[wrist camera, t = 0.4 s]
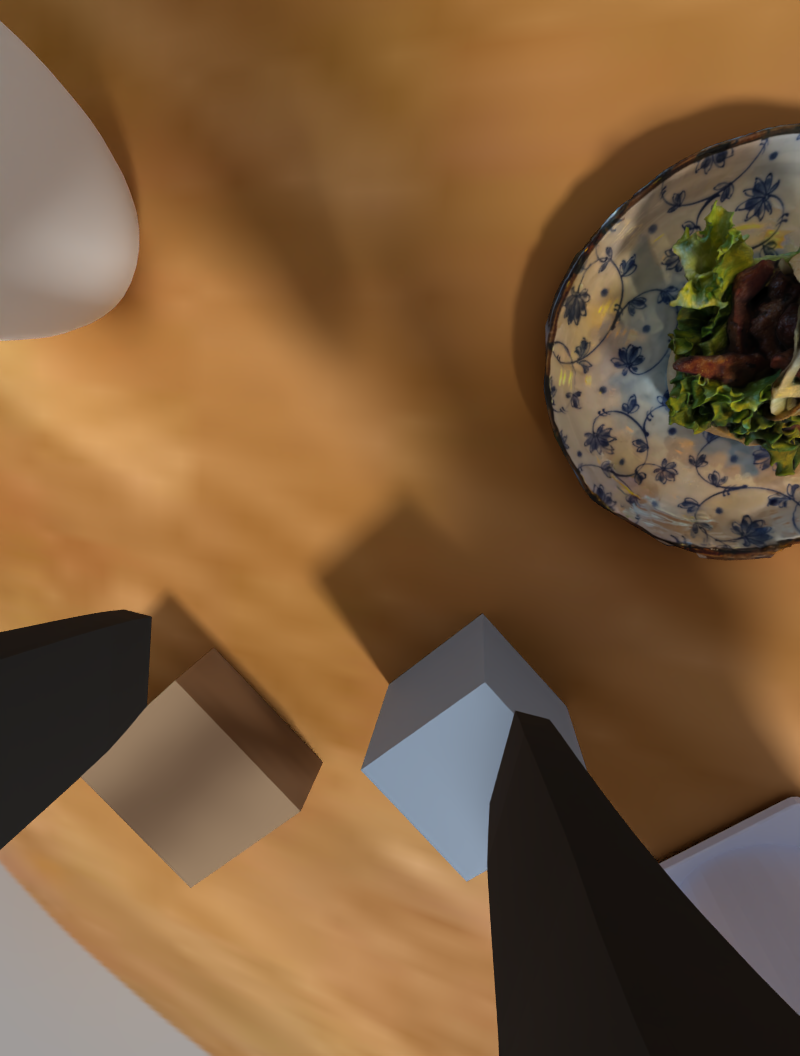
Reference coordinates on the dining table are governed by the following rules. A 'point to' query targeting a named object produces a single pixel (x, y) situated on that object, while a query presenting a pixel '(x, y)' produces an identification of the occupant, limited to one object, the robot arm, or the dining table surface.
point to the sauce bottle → (56, 206)
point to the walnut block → (205, 770)
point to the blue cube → (456, 738)
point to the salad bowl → (690, 353)
